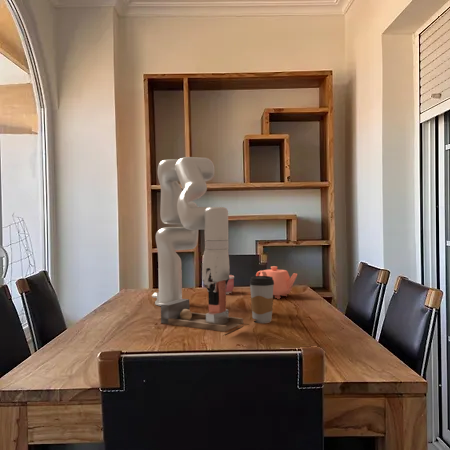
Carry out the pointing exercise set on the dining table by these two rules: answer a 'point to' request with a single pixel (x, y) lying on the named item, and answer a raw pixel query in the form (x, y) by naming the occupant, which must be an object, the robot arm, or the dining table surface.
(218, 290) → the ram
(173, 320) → the grey tray
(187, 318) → the walnut
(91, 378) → the dining table surface
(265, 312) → the coffee cup
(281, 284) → the teapot
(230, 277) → the container
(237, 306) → the dining table surface
